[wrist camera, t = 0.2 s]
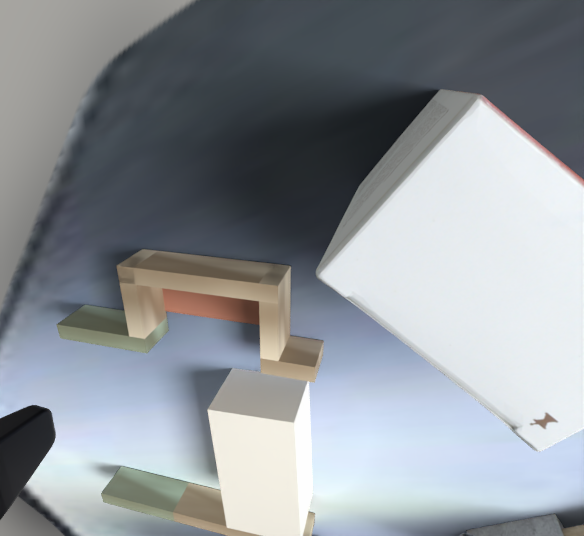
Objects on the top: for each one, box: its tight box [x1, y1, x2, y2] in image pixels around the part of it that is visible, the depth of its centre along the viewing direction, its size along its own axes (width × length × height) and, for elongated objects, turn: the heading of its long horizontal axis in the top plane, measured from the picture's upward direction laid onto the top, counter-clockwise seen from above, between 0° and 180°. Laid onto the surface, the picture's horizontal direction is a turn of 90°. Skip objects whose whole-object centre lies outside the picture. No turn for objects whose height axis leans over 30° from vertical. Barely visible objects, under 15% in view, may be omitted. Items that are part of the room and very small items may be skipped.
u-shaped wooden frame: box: [57, 249, 324, 536], centre depth 27 cm, size 20×16×2 cm
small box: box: [316, 89, 584, 452], centre depth 14 cm, size 8×6×10 cm
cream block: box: [207, 368, 313, 536], centre depth 26 cm, size 10×5×4 cm, turn 3°
